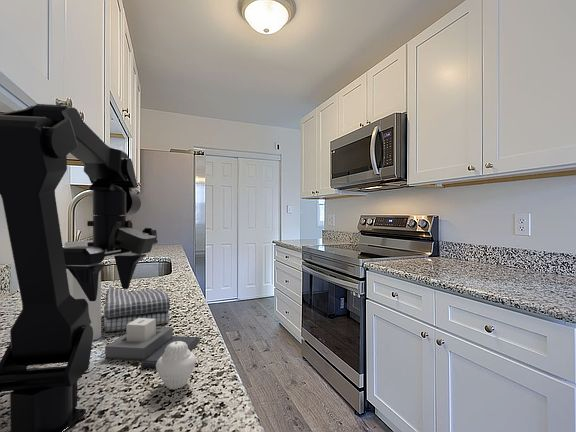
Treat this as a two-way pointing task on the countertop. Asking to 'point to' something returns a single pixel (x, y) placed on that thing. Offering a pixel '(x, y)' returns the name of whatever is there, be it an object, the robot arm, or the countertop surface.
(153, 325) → the block
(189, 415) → the countertop surface
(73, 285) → the milk
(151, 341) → the grey tray
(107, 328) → the towel
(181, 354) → the white ribbed lump
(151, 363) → the phone
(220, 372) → the countertop surface
